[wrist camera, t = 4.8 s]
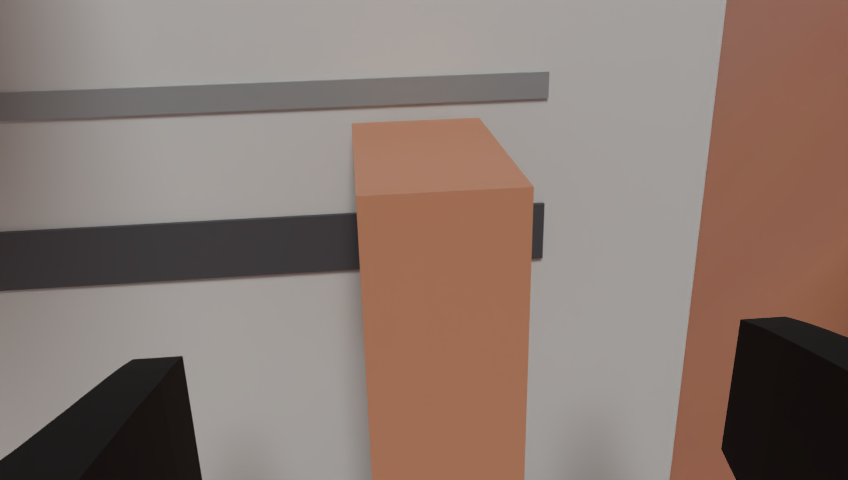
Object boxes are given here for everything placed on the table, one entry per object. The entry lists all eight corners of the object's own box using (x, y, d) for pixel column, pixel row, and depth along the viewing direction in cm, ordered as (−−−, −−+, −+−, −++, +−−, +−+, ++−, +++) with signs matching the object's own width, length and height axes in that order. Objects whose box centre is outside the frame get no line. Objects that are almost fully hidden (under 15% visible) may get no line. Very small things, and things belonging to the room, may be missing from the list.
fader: (479, 117, 14) (534, 186, 10) (477, 349, 16) (523, 486, 12) (351, 123, 14) (355, 196, 10) (365, 357, 16) (372, 500, 12)
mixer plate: (706, -142, 15) (746, -151, 13) (622, 670, 23) (642, 720, 21) (-161, -130, 13) (-223, -138, 12) (75, 730, 22) (55, 788, 20)
